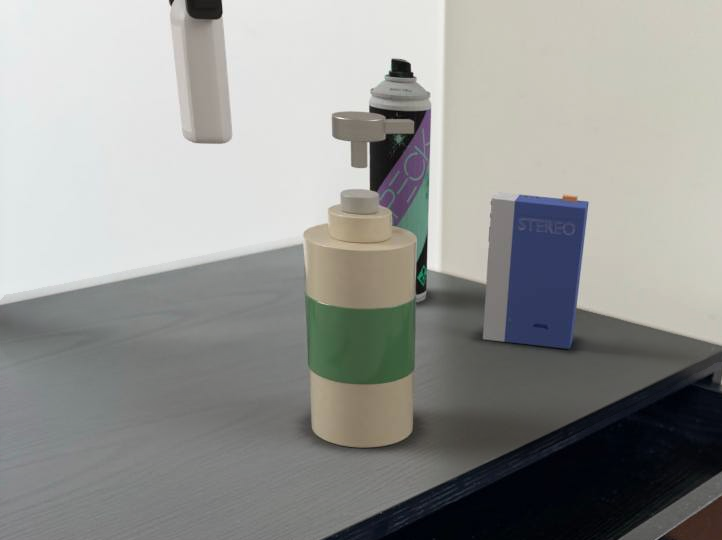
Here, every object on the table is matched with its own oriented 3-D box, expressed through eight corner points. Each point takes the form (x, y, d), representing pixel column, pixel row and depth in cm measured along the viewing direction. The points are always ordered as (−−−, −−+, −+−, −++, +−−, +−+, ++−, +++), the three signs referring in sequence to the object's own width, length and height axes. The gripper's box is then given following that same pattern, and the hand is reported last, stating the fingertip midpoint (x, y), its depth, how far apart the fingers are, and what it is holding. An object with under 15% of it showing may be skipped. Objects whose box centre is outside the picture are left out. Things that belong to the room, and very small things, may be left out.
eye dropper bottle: (160, 140, 67) (134, -73, 60) (198, 130, 72) (178, -71, 65) (218, 147, 67) (199, -69, 60) (253, 135, 71) (238, -66, 64)
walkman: (572, 339, 87) (589, 196, 80) (569, 349, 85) (586, 203, 78) (487, 329, 88) (496, 187, 81) (481, 339, 86) (490, 193, 79)
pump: (341, 172, 58) (340, 119, 56) (326, 161, 60) (325, 111, 58) (420, 171, 60) (421, 119, 58) (402, 160, 62) (403, 111, 60)
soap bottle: (327, 453, 65) (318, 208, 56) (299, 412, 71) (287, 181, 62) (428, 441, 68) (435, 204, 59) (393, 402, 73) (395, 179, 64)
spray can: (359, 292, 95) (356, 56, 84) (403, 284, 98) (405, 55, 87) (393, 307, 92) (395, 63, 80) (437, 298, 95) (445, 62, 83)
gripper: (77, -327, 59) (122, 4, 69) (109, -377, 49) (156, 22, 58) (202, -307, 62) (228, 8, 72) (258, -351, 51) (278, 26, 61)
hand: (195, 13), depth 65 cm, fingers closed on eye dropper bottle, 5 cm apart
